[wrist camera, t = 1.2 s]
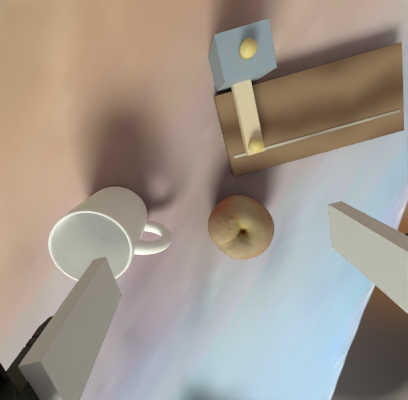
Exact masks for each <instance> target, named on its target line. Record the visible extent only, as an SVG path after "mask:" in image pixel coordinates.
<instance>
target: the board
mask: <svg viewBox="0 0 408 400" xmlns="http://www.w3.org/2000/svg"><path fill="white" fill-rule="evenodd" d="M252 88H253V93H254V98H255V103H256V108H257V113H258V118H259V123H260V128H261V134H262V139H263V142H264V149H265V151H263V152H260V153H256V154H252V155H249V156H248V155H247V154H246V152H245V148H244V143H243V138H242V134H241V129H240V125H239V120H238V116H237V111H236V107H235V102H234V98H233V93H232V91H231V92H228V93H224V94H221V95H218V96H215V97H214V101H215V105H216V109H217V113H218V117H219V121H220V126H221V130H222V134H223V138H224V142H225V146H226V150H227V154H228V159H229V163H230V167H231V171H232V174H233V176H234V177H237V176H240V175H244V174H248V173H251V172H255V171H258V170H262V169H266V168H269V167H273V166H276V165H280V164H284V163H287V162H291V161H294V160H298V159H302V158H305V157H309V156H312V155H316V154H320V153H323V152H327V151H330V150H334V149H338V148H341V147H345V146H348V145H352V144H356V143H359V142H363V141H366V140H370V139H374V138H377V137H381V136H384V135H388V134H392V133H395V132H399V131H402V130H404V112H403V75H402V42H400V43H397V44H394V45H390V46H387V47H383V48H380V49H376V50H373V51H369V52H366V53H363V54H359V55H356V56H352V57H349V58H345V59H342V60H338V61H335V62H331V63H328V64H325V65H321V66H318V67H314V68H311V69H307V70H304V71H300V72H297V73H293V74H290V75H287V76H283V77H280V78H276V79H273V80H269V81H266V82H262V83H259V84H255V85H252Z"/></svg>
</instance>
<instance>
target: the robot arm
mask: <svg viewBox="0 0 408 400" xmlns="http://www.w3.org/2000/svg"><path fill="white" fill-rule="evenodd" d="M328 208H329V220H330V232H331V245H332V247H333V248H334V249H335V250H336V251H337V252H338V253H340V254H341V255H342V256H343V257H344V258H345V259H346V260H348V261H349V262H350V263H351V264H352V265H353V266H354V267H356V268H357V269H358V270H359V271H360V272H361V273H362V274H363V275H365V276H366V277H367V278H368V279H369V280H370V281H371V282H373V283H374V284H375V285H376V286H377V287H379V289H381V290H382V291H383V292H384V293H385V294H386V295H387V296H388V297H390V298H391V299H392V300H393V301H395V303H396V304H398V305H399V306H400V307H401V308H402V309H403V310H404V311H406V312H407V313H408V233H407V234H402V233H401V232H399V231H397V230H395V229H393V228H391V227H389V226H388V225H386V224H384V223H382V222H380V221H378V220H376V219H374V218H372V217H370V216H368V215H367V214H365V213H363V212H361V211H359V210H357V209H355V208H353V207H351V206H349V205H348V204H346V203H344V202H342V201H341V202H336V203H332V204H328ZM120 298H121V293H120V290H119V288H118V285H117V283H116V280H115V278H114V275H113V273H112V270H111V268H110V265H109V263H108V261H107V258H106V257H102V258H98V259H94V260H93V261H92V262H91V264H90V265H89V266H88V268H87V269H86V271H85V272H84V273H83V275H82V276H81V278H80V279H79V281H78V282H77V283H76V285H75V286H74V288H73V289H72V290H71V292H70V293H69V295H68V296H67V298H66V299H65V300H64V302H63V303H62V305H61V306H60V307H59V309H58V310H57V312H56V313H55V315H54V316H52V317H49V318H48V319H47V320H46V321H45V322H44V323H43V324H42V325H41V326H39V328H38V329H37V330H36V332H35V333H34V334H33V336H32V338H31V339H30V340H29V341H28V343H27V344H26V347H24V348H23V349H22V351H21V352H20V353H19V355H18V356H17V358H16V359H15V360H14V362H13V363H12V364H11V366H10V367H9V368H8V370H7V371H5V370H4V368H3V366H2V365H1V363H0V400H80V398H81V396H82V393H83V391H84V388H85V386H86V383H87V380H88V378H89V375H90V373H91V370H92V368H93V365H94V363H95V360H96V358H97V355H98V353H99V350H100V348H101V345H102V343H103V340H104V338H105V335H106V333H107V330H108V328H109V325H110V323H111V320H112V318H113V315H114V313H115V310H116V308H117V305H118V303H119V300H120Z"/></svg>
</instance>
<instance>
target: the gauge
mask: <svg viewBox="0 0 408 400" xmlns="http://www.w3.org/2000/svg"><path fill="white" fill-rule="evenodd" d="M208 58H209V63H210V67H211V71H212V75H213V79H214V84H215V88H216V92H220V91H224V90H227V89H231V88H232V93H233V98H234V102H235V107H236V111H237V116H238V120H239V125H240V129H241V134H242V138H243V143H244V148H245V152H246V154H247V155H248V156H249V155H252V154H256V153H260V152H263V151H265V149H264V142H263V139H262V134H261V128H260V123H259V118H258V113H257V108H256V103H255V98H254V93H253V88H252V83H251V82H255V81H257V80H258V79H260V78H261V77H263V76H264V75H266V74H267V73H269V72H270V71H272V70H273V69H275V68H276V67H277V64H276V58H275V52H274V46H273V40H272V34H271V27H270V21H269V18H268V19H265V20H261V21H258V22H255V23H251V24H248V25H245V26H241V27H238V28H234V29H231V30H228V31H224V32H221V33H218V34H214V37H213V41H212V45H211V49H210V53H209V57H208Z"/></svg>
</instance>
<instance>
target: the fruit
mask: <svg viewBox="0 0 408 400" xmlns="http://www.w3.org/2000/svg"><path fill="white" fill-rule="evenodd" d="M208 232H209V235H210V237H211V239H212V241H213V242H214V243H215V244H216V245H217V246H218V247H219V249H220V250H221V251H222V252H223V253H224V254H226V255H228V256H229V257H231V258H235V259H249V258H254V257H256V256H258V255H260V254H261V253H263V252H264V251H265V250H266V249H267V248H268V246H269V245H270V243H271V241H272V238H273V234H274V223H273V220H272V217H271V215H270V213H269V212H268V211H267V209H266V208H265V207H264V206H263V205H262V204H261V203H259V202H258V201H256V200H254V199H252V198H250V197H248V196H243V195H233V196H230V197H227V198H226V199H224V200H222V201H221V202H219V203H218V204H217V205H216V206H215V208H214V209H213V210H212V212H211V214H210V216H209V221H208Z"/></svg>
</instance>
